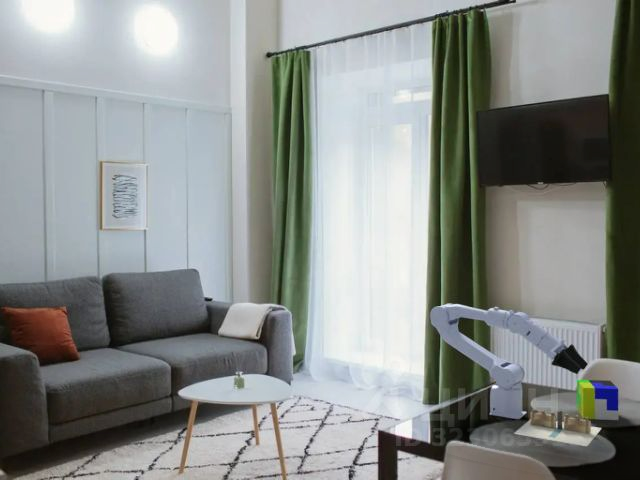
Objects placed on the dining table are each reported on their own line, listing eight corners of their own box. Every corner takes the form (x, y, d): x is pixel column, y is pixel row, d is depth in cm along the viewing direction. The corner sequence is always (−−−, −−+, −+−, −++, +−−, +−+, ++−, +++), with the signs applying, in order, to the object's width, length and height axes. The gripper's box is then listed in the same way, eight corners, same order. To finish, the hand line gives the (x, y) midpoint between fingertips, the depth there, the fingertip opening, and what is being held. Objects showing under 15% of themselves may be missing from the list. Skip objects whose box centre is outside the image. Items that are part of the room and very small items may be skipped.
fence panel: (563, 429, 189) (563, 414, 189) (564, 428, 190) (564, 413, 190) (589, 433, 185) (589, 418, 185) (590, 432, 186) (590, 417, 186)
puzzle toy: (618, 421, 197) (618, 388, 197) (583, 420, 199) (583, 387, 199) (610, 411, 207) (610, 380, 207) (577, 410, 209) (577, 379, 209)
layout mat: (513, 435, 187) (513, 433, 187) (532, 418, 202) (532, 417, 202) (587, 447, 175) (587, 446, 175) (601, 429, 190) (601, 427, 190)
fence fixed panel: (530, 424, 194) (530, 407, 194) (531, 423, 196) (531, 406, 195) (561, 429, 189) (561, 412, 189) (563, 428, 190) (562, 410, 190)
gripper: (543, 333, 191) (583, 362, 185) (557, 327, 203) (596, 354, 196) (530, 351, 194) (569, 381, 187) (545, 345, 205) (583, 372, 199)
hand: (582, 369), depth 192 cm, fingers open, 7 cm apart
